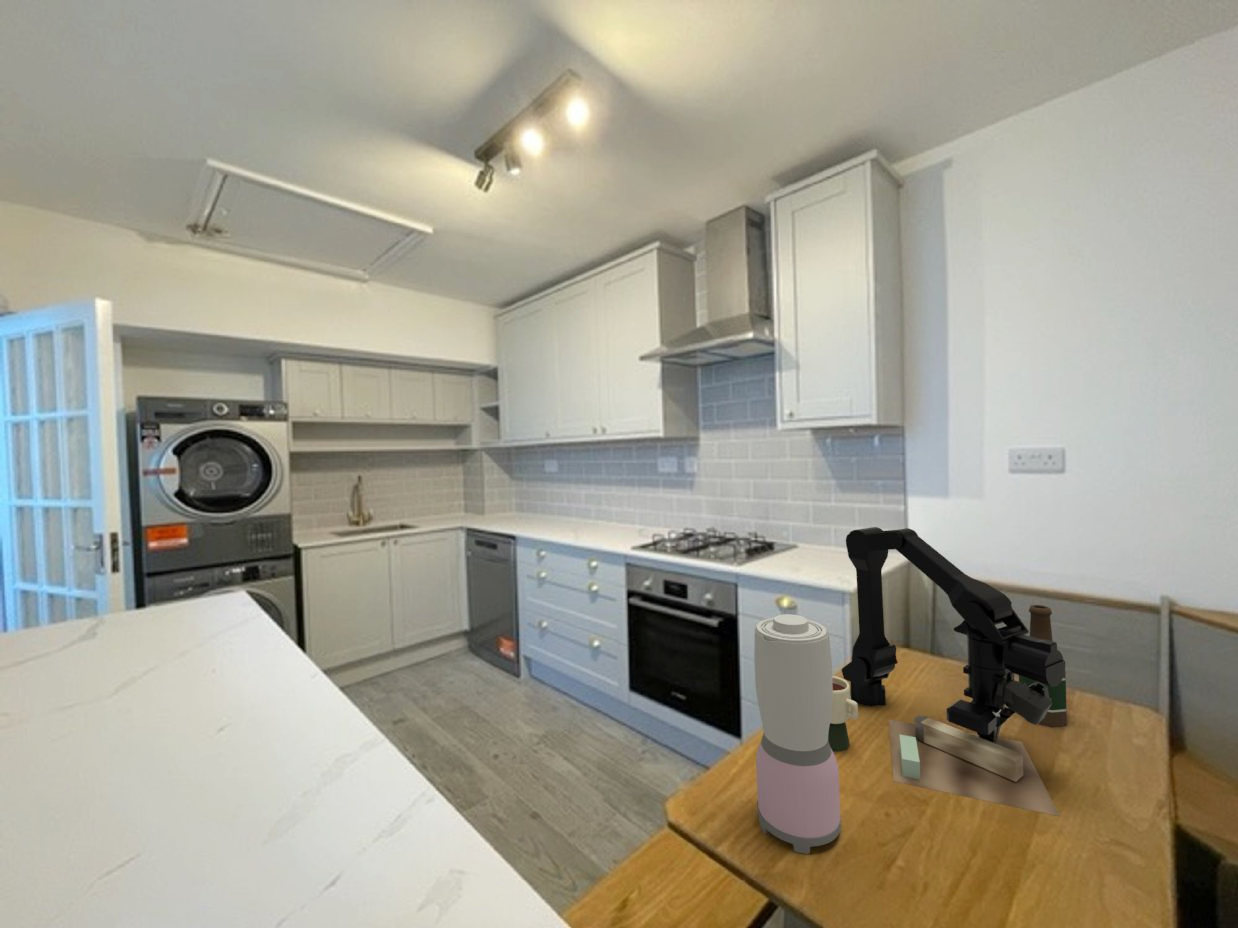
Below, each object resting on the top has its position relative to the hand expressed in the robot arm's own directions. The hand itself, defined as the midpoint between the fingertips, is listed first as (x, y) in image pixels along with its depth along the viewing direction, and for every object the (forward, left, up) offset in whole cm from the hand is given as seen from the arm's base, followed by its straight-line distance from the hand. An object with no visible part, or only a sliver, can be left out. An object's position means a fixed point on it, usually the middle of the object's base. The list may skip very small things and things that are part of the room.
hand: (989, 749), depth 91 cm
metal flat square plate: (-5, -2, -3) cm, 6 cm away
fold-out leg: (-4, -1, -1) cm, 4 cm away
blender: (-29, -25, -3) cm, 38 cm away
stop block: (-13, -7, -2) cm, 15 cm away
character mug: (-26, -4, -3) cm, 26 cm away
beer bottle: (+12, +20, -3) cm, 23 cm away
